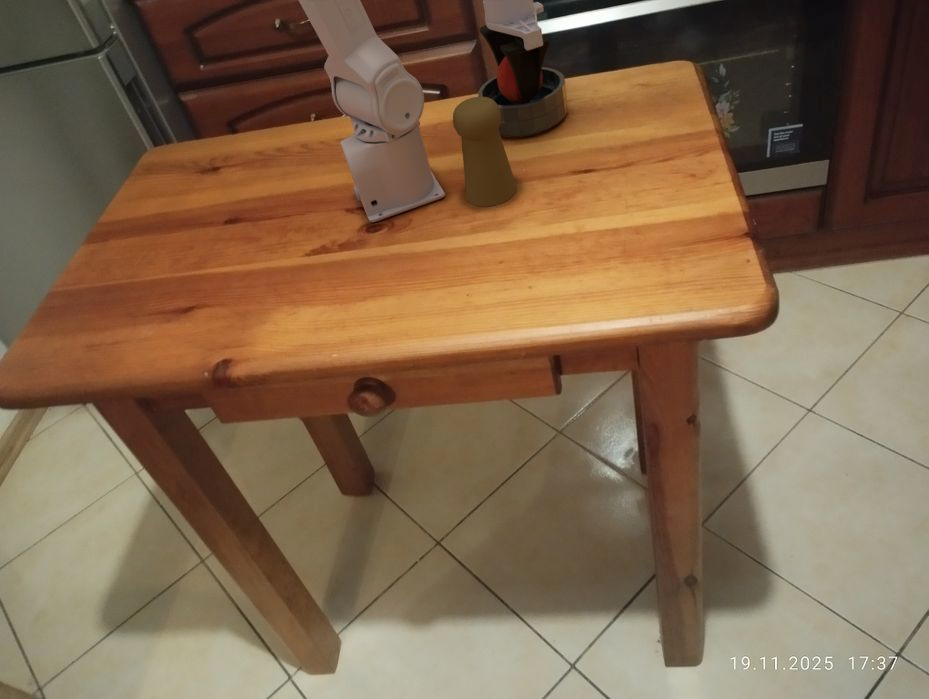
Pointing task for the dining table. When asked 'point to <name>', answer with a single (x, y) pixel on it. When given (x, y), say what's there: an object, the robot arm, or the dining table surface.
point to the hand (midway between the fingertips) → (521, 87)
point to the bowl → (530, 106)
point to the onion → (510, 83)
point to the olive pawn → (483, 152)
